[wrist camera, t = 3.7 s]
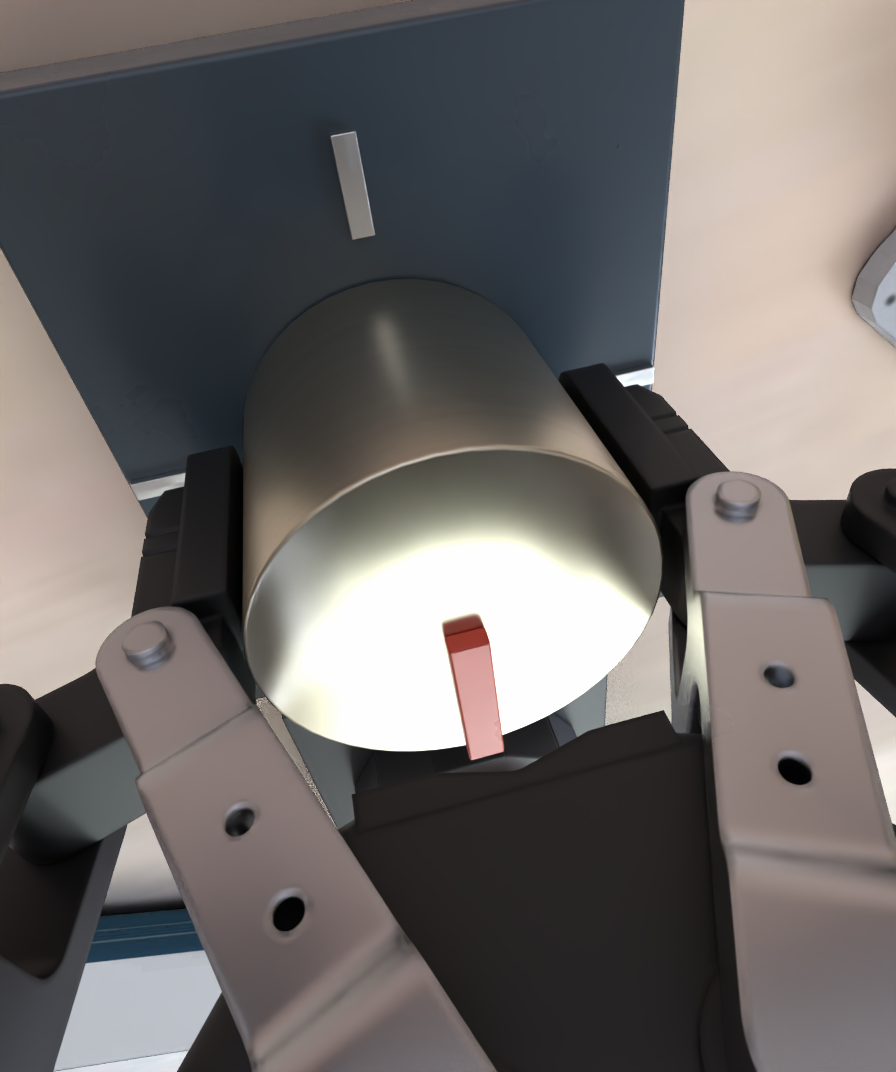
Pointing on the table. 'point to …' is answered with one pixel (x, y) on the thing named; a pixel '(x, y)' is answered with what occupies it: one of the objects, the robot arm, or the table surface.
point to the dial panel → (336, 195)
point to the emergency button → (879, 290)
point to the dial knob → (430, 526)
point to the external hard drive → (139, 991)
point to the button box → (436, 754)
